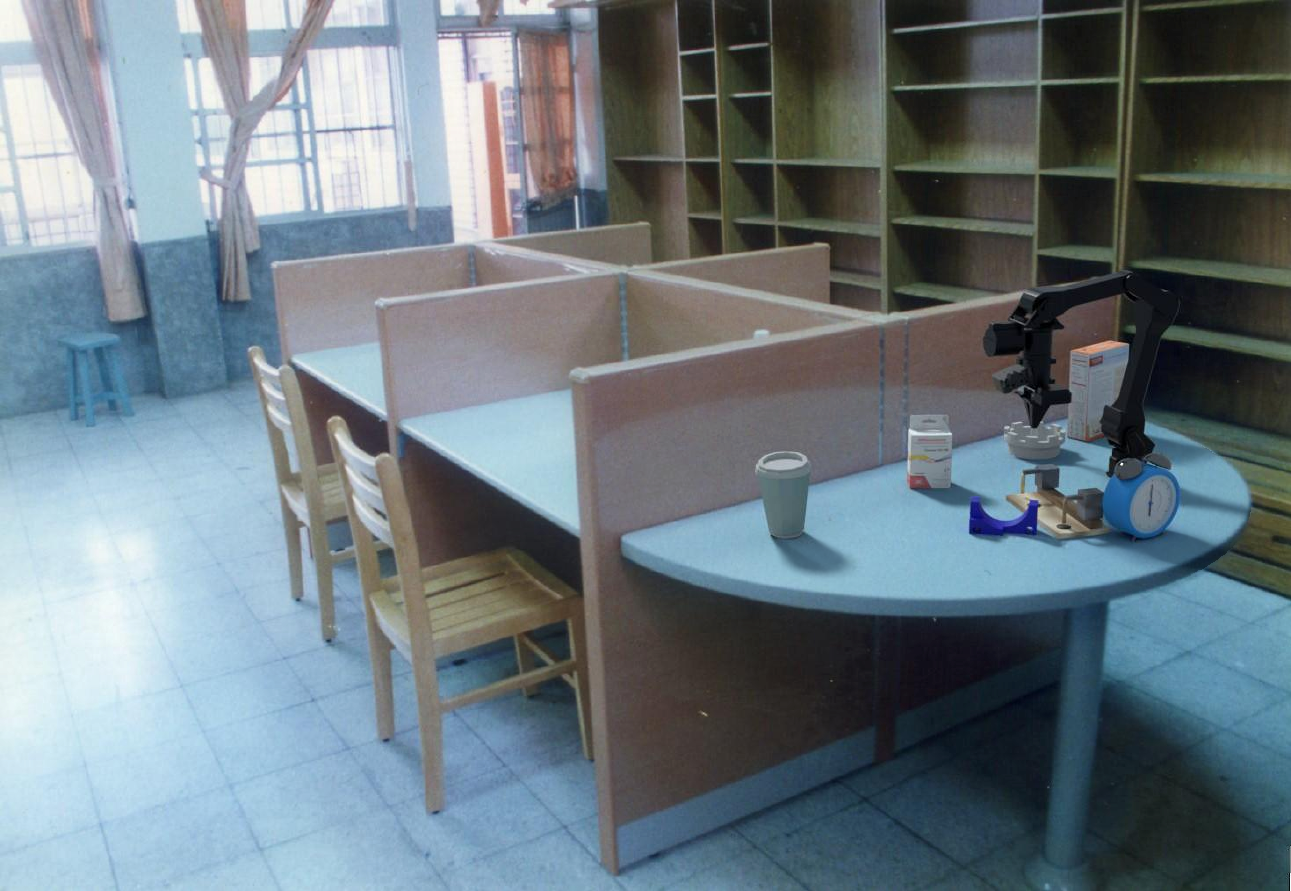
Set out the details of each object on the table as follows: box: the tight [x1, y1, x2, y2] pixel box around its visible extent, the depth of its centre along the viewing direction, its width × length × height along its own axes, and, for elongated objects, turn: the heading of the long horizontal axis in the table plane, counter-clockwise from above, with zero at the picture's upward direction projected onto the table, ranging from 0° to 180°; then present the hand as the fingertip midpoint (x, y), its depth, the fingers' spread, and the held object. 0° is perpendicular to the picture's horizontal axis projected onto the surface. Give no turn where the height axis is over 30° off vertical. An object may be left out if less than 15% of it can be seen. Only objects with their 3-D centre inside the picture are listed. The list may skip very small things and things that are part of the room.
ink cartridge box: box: [906, 414, 953, 489], centre depth 246 cm, size 9×5×15 cm, turn 84°
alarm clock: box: [1103, 452, 1181, 542], centre depth 215 cm, size 13×6×15 cm, turn 113°
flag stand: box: [1003, 421, 1067, 461], centre depth 261 cm, size 13×13×30 cm
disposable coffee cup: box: [754, 450, 813, 540], centre depth 225 cm, size 11×11×15 cm
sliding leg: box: [1020, 463, 1061, 494], centre depth 235 cm, size 7×3×5 cm, turn 98°
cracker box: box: [1066, 340, 1130, 443], centre depth 272 cm, size 14×6×21 cm, turn 123°
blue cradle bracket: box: [968, 496, 1038, 537], centre depth 221 cm, size 12×4×6 cm, turn 71°
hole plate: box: [1005, 486, 1111, 540], centre depth 227 cm, size 10×22×8 cm, turn 8°
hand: (1033, 428), depth 239 cm, fingers closed
